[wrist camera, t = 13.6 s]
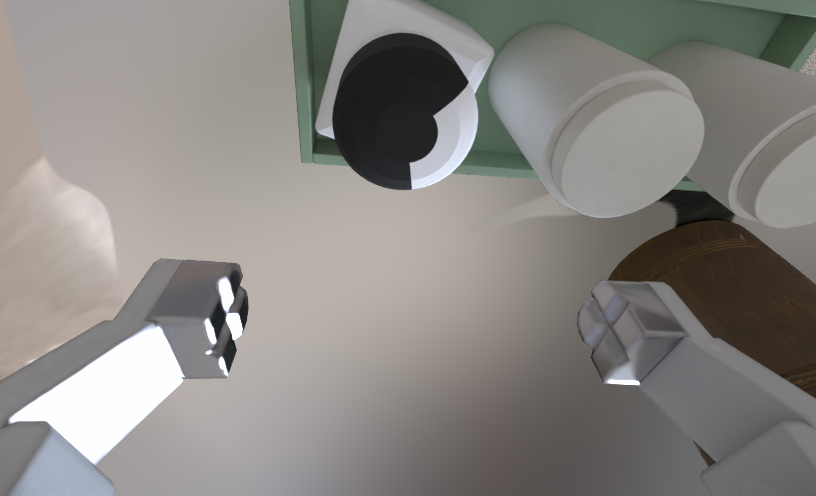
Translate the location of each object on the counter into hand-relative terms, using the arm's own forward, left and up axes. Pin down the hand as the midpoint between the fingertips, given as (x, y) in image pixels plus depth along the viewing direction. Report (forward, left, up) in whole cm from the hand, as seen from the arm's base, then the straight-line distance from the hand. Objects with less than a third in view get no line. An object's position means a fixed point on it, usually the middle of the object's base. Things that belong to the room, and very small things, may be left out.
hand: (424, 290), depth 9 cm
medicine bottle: (0, 0, -21) cm, 21 cm away
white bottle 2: (-20, 0, -20) cm, 29 cm away
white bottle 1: (-10, 0, -20) cm, 23 cm away
